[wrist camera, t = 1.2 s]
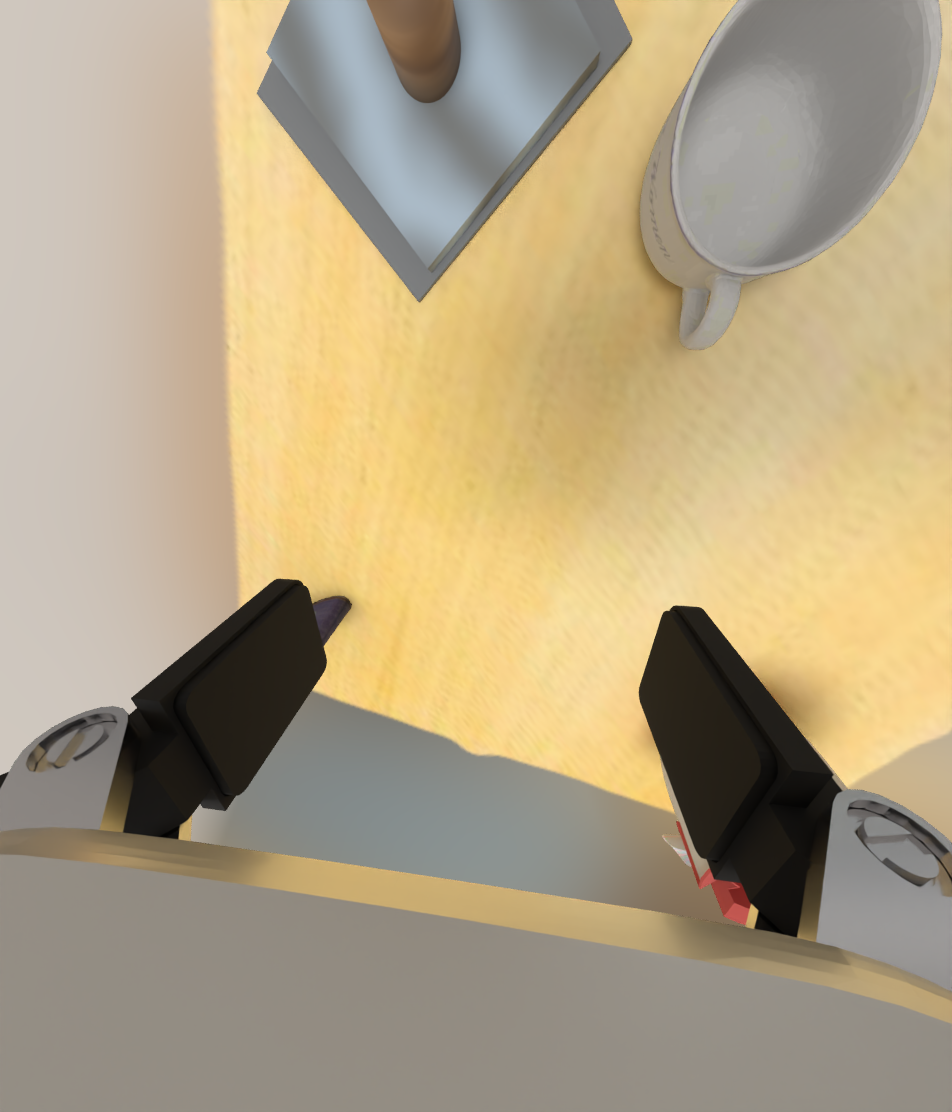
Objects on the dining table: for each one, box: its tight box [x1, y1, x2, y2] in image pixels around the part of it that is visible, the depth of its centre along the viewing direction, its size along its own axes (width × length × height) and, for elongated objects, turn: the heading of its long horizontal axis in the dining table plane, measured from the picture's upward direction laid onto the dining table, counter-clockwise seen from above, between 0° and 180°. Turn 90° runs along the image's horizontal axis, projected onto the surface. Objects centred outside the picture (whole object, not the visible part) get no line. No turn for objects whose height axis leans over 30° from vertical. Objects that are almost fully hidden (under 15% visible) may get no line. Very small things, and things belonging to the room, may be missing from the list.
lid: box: [266, 0, 601, 273], centre depth 18 cm, size 14×14×6 cm
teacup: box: [640, 0, 942, 350], centre depth 20 cm, size 14×11×8 cm
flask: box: [312, 596, 352, 646], centre depth 38 cm, size 9×3×11 cm, turn 118°
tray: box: [257, 0, 632, 302], centre depth 21 cm, size 18×15×1 cm
